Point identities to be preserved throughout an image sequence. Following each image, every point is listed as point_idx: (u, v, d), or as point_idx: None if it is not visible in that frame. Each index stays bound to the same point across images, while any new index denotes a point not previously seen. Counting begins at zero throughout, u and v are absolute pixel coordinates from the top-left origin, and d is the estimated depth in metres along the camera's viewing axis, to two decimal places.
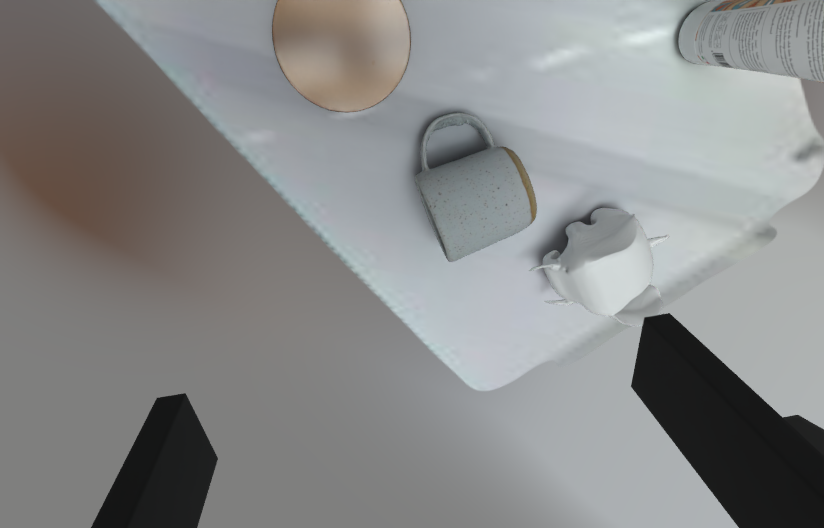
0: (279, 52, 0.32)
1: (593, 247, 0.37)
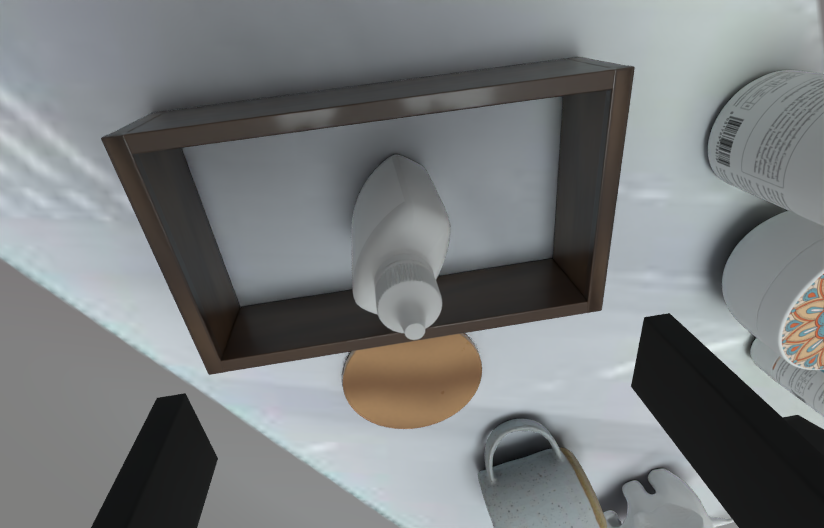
0: (348, 393, 0.31)
1: None
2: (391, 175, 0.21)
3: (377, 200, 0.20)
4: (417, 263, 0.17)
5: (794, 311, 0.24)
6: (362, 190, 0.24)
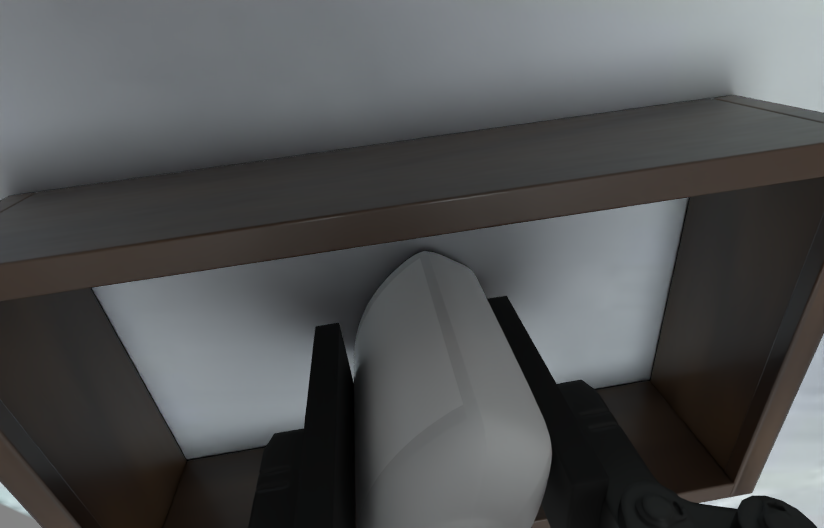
0: None
1: None
2: (424, 308, 0.12)
3: (401, 361, 0.11)
4: None
5: None
6: (371, 307, 0.15)
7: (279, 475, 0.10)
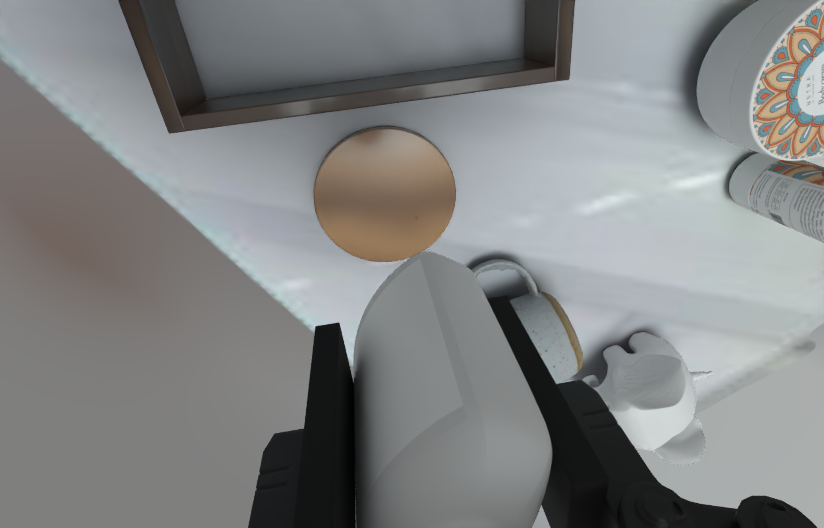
0: (320, 213, 0.31)
1: (637, 391, 0.36)
2: (424, 308, 0.12)
3: (401, 362, 0.11)
4: None
5: (764, 76, 0.24)
6: (371, 308, 0.15)
7: (279, 475, 0.10)
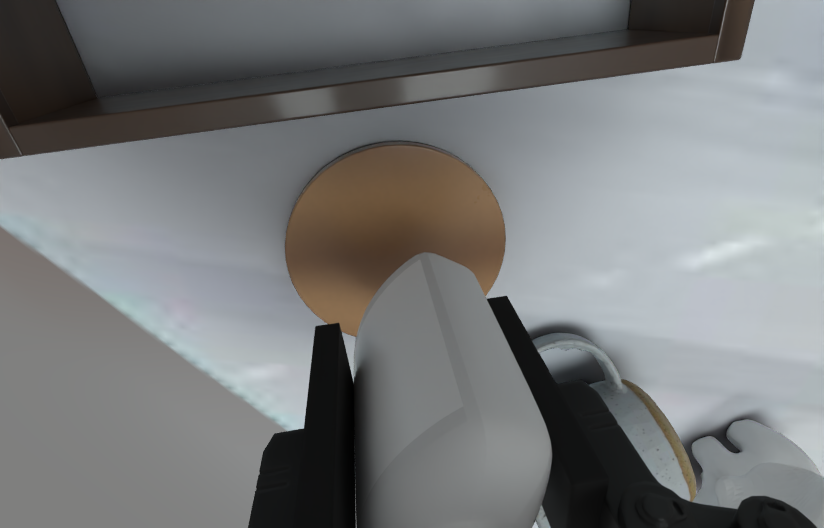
0: (296, 275, 0.20)
1: None
2: (424, 309, 0.12)
3: (402, 363, 0.11)
4: None
5: None
6: (371, 308, 0.15)
7: (279, 475, 0.10)
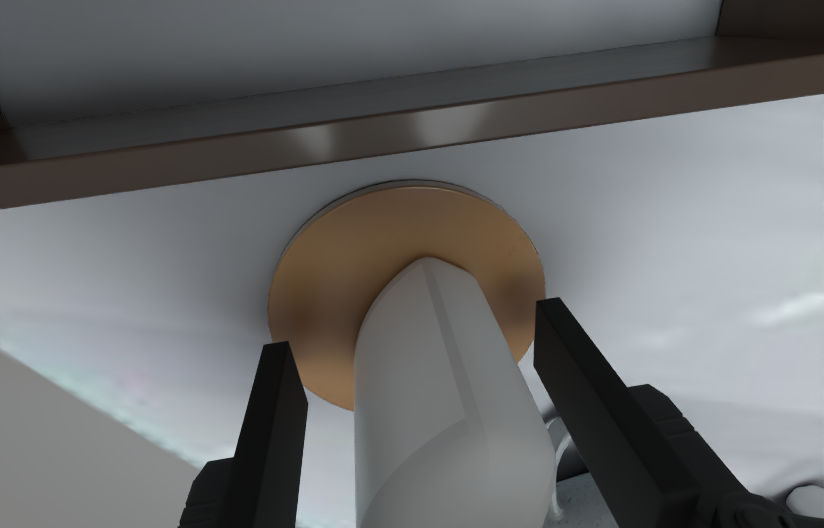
0: None
1: None
2: (425, 315, 0.12)
3: (403, 371, 0.11)
4: None
5: None
6: (372, 314, 0.15)
7: (205, 508, 0.10)
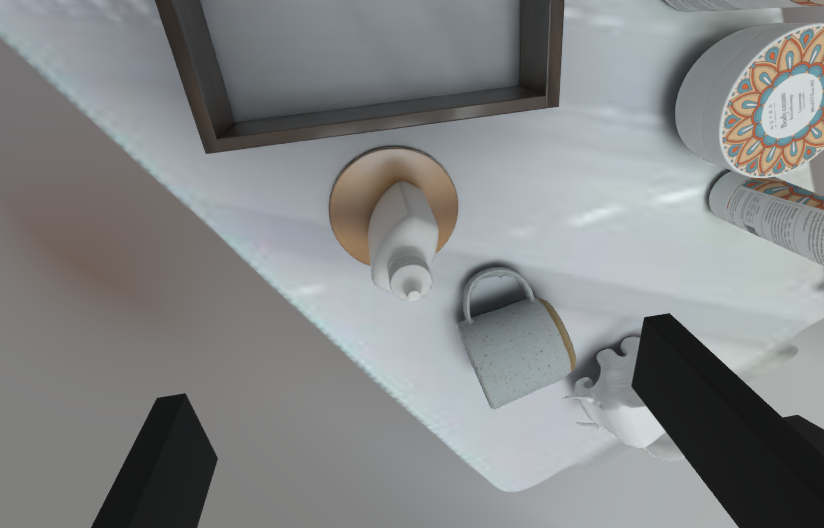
0: (334, 224, 0.34)
1: (627, 391, 0.38)
2: (398, 196, 0.30)
3: (388, 213, 0.29)
4: (415, 255, 0.26)
5: (731, 104, 0.27)
6: (376, 206, 0.33)
7: None
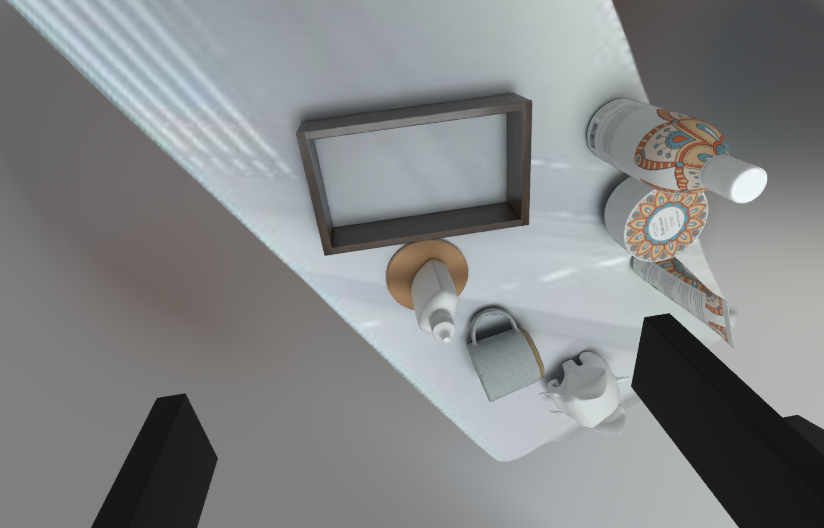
0: (389, 284, 0.53)
1: (579, 389, 0.58)
2: (432, 273, 0.50)
3: (427, 284, 0.49)
4: (446, 314, 0.45)
5: (629, 224, 0.46)
6: (417, 274, 0.52)
7: None
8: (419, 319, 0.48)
